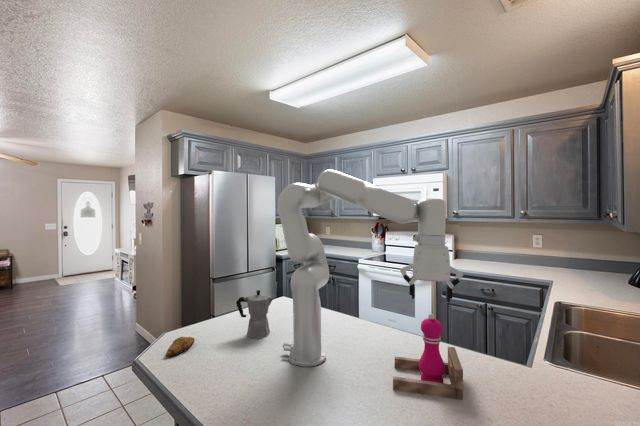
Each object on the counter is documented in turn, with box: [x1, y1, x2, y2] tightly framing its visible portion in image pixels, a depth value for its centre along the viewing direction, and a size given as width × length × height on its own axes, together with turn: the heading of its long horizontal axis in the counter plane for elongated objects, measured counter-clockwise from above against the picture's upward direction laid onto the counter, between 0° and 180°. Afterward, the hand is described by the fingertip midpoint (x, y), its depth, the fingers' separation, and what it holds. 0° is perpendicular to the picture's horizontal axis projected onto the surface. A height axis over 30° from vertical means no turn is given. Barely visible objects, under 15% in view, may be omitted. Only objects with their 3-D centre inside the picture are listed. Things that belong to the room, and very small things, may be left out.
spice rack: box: [392, 346, 464, 401], centre depth 89 cm, size 18×14×8 cm
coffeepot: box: [236, 289, 275, 339], centre depth 125 cm, size 15×9×18 cm, turn 103°
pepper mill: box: [419, 313, 445, 383], centre depth 89 cm, size 7×7×20 cm
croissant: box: [165, 336, 196, 358], centre depth 111 cm, size 14×7×5 cm, turn 165°
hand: (430, 299), depth 89 cm, fingers open, 9 cm apart
